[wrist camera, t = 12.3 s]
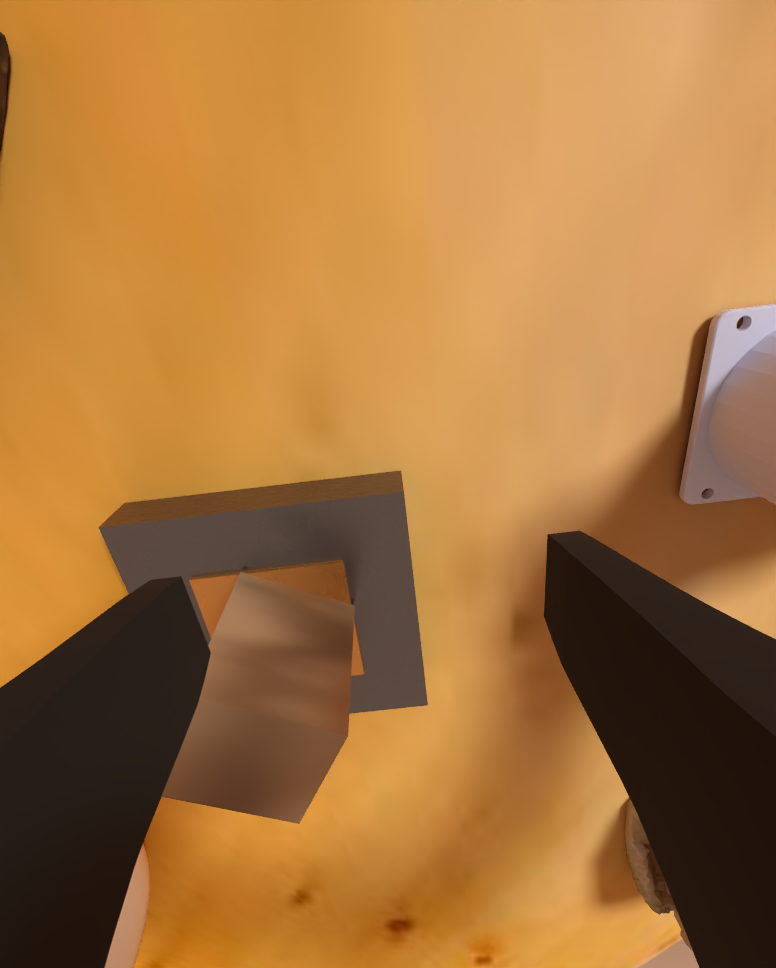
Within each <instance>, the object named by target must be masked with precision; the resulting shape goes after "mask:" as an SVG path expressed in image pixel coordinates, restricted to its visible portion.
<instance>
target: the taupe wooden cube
mask: <svg viewBox="0 0 776 968" xmlns="http://www.w3.org/2000/svg"><path fill="white" fill-rule="evenodd" d="M354 613H355V606H354V605H350V604H347V603H344V602H340V601H337V600H334V599H330V598H327V597H324V596H320V595H317V594H313V593H310V592H307V591H303V590H300V589H297V588H293V587H290V586H287V585H283V584H280V583H277V582H273V581H270V580H267V579H263V578H260V577H257V576H253V575H250V574H247V573H243V572H240V574H239V576H238V578H237V581H236V583H235V585H234V588H233V590H232V592H231V594H230V597H229V599H228V601H227V604H226V606H225V608H224V611H223V613H222V615H221V617H220V620H219V622H218V624H217V627H216V629H215V631H214V634H213V636H212V638H211V640H210V643H209V645H208V647H209V649H210V652H211V655H210V659H209V663H208V668H207V672H206V676H205V680H204V684H203V688H202V691H201V695H200V699H199V702H198V705H197V708H196V710H195V713H194V716H193V718H192V721H191V723H190V726H189V729H188V731H187V734H186V736H185V739H184V741H183V744H182V746H181V749H180V751H179V754H178V756H177V759H176V761H175V764H174V766H173V769H172V771H171V774H170V776H169V779H168V781H167V784H166V786H165V789H164V791H163V794H162V796H161V797H166V798H171V799H176V800H181V801H187V802H192V803H197V804H202V805H207V806H212V807H217V808H222V809H227V810H232V811H237V812H242V813H247V814H252V815H258V816H263V817H268V818H273V819H278V820H283V821H288V822H293V823H298V824H299V823H300V821H301V819H302V818H303V816H304V814H305V812H306V810H307V809H308V807H309V805H310V803H311V801H312V800H313V798H314V796H315V794H316V792H317V791H318V789H319V787H320V785H321V783H322V782H323V780H324V778H325V776H326V774H327V773H328V771H329V769H330V767H331V765H332V764H333V762H334V760H335V758H336V756H337V755H338V753H339V751H340V749H341V747H342V745H343V744H344V742H345V740H346V738H347V736H348V727H349V708H350V689H351V670H352V651H353V632H354Z"/></svg>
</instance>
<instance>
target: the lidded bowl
mask: <svg viewBox="0 0 776 968" xmlns="http://www.w3.org/2000/svg"><path fill="white" fill-rule="evenodd" d="M149 897H150V869H149V861H148V857H147V853H146V850H145V847H144V844H143V845H142V848H141V850H140V853H139V856H138V859H137V861H136V864H135V867H134V871H133V874H132V877H131V881H130V884H129V887H128V890H127V894H126V897H125V900H124V903H123V907H122V910H121V913H120V917H119V920H118V923H117V926H116V930H115V933H114V936H113V940H112V943H111V947H110V950H109V954H108V957H107V961H106V965H105V968H134V965H135V962H136V959H137V956H138V952H139V949H140V945H141V941H142V936H143V932H144V928H145V924H146V918H147V912H148V906H149Z"/></svg>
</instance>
